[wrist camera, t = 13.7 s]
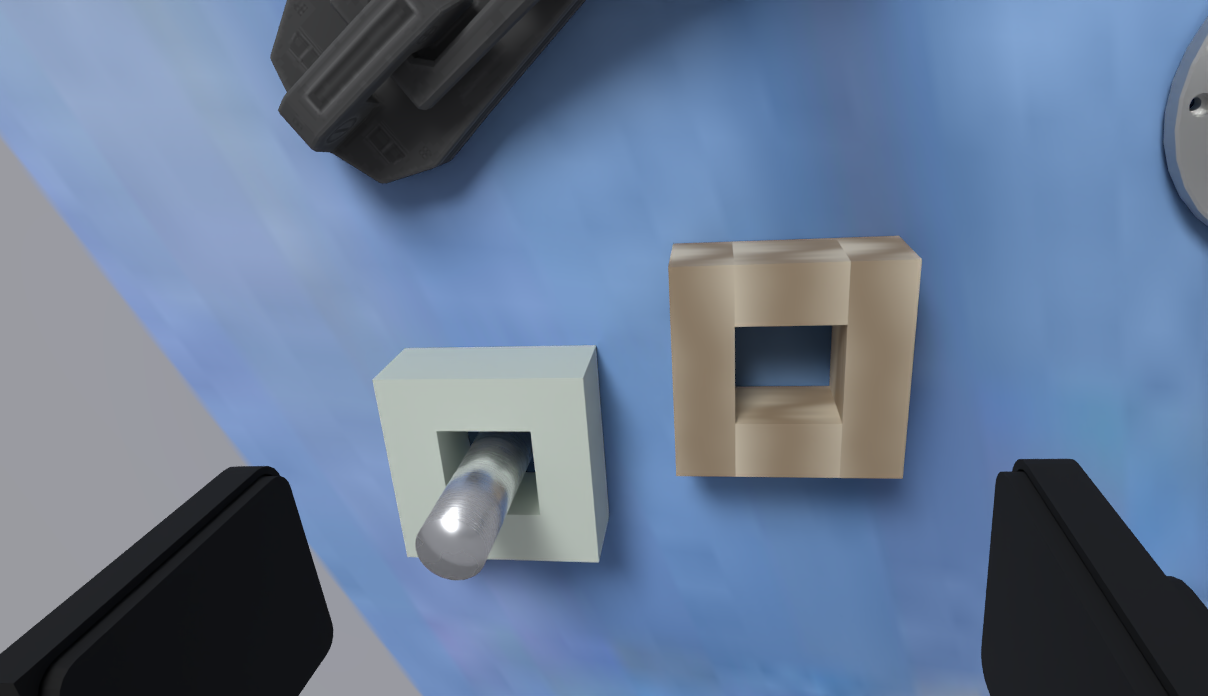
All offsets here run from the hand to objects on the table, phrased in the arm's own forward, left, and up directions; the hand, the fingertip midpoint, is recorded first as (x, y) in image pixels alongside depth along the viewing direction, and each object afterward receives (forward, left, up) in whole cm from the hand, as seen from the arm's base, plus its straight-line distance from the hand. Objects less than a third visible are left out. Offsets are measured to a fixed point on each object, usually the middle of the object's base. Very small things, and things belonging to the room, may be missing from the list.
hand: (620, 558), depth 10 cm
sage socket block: (+10, +12, -26) cm, 30 cm away
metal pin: (+10, +12, -26) cm, 30 cm away
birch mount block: (-4, +7, -26) cm, 27 cm away
